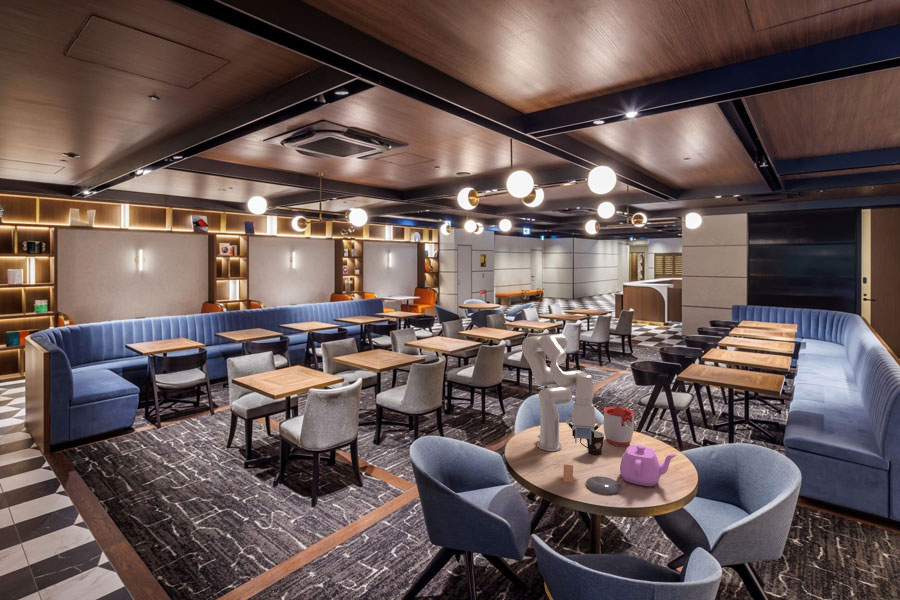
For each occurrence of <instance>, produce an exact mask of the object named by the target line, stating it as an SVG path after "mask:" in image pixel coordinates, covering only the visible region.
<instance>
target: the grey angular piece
mask: <svg viewBox="0 0 900 600" xmlns="http://www.w3.org/2000/svg"><path fill="white" fill-rule="evenodd" d="M580 438H582V439H581V440H583V439H585V440H586V439H590V445H591V427H587V426H576V425H575V439H574V442H575V444H577V440H578V439H580Z"/></svg>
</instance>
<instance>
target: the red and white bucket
mask: <svg viewBox="0 0 900 600" xmlns="http://www.w3.org/2000/svg"><path fill="white" fill-rule="evenodd" d="M602 411H603V434H604V438H605V439H606V441H607V442H608V443H609V444H610V445H614V446H616V445H618V446H620V447H621V446H624V447H626V446H629V445H630V443H631V441H632V438H633V435H634V429H635V423H634V422H635V411H633V410H632V409H630V408H626V407H622V406H621V405H617V406H609V407H604V408H603V409H602Z"/></svg>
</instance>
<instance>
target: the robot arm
mask: <svg viewBox="0 0 900 600" xmlns="http://www.w3.org/2000/svg"><path fill="white" fill-rule="evenodd" d="M567 345H568V341H567V338H566V337H565V335H563V334H560V333H557V334H555V333H553V334H552V333H551V334H545V335H531V336H528V337H525V338H524V339H523V341H522V343H521V348H522V349H521V350H522V353H523V356H524V358H525V359H526V361H527V363H528V364H529V367H530V369H531V372H532V376H533V378H534V381H535V383H536V384H537V386H538V387H544V388H542V389H540V391H539V392H538V399H539V401H538V402H539V408H540V409H539V410H540V413H539V414H540V420H539V421H540V422H539V423H540V424H539V425H540V427H539V428H540V429H539V431H540V432H539V433H540V434H538V435H537V439H539V441H538V442H537V443H536V445H537V447H539V448H538V449H540V450H542V449H543V451H545V450H546V452H557V451H560V450H562V448H563V445H562V443H560V413H559V411H558V409H557V408H556V406H562V405H567V404H570V403H571V402H572V401H573V405H572V414H571V415H570V416H568V418H566V419H565V422H566V424H567V425H568V427H569V428H570V429H571V430H572V433H571V434H572V437H573V439H574V440H575V425H576V426H587V427H591V440H593V438H594V432H595V431H598V429H599V428H600V427H601V426H602V425H603V424H602V422H601V421H600V420H599V419H597V417H596V411H595V410H596V409H595V406H594V403H593V387H594V386H593V382H594V381H593V376H592V375H590V374H588V373H585V372H584V371H583V370H579V369H577V370H576V369H575V370H567V371H563V370H562V369H561V368H560V367H559V366H560V365H562V364H563V363H564V362H565V361H566V359H567V353H566V352H565V349H566V348H567ZM539 352H543V353H544V354H545V356H546V357H547V358H548V359H549V361H550V365H549V366H548V365H547V363H546V360H545V358H544V357H543V356H542V355H541V354H539ZM572 387H573V388H575V389H574V390H575V396H574V397H573V393H572V390H571V388H572ZM570 421H571V422H570ZM595 424H596V425H595Z"/></svg>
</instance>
